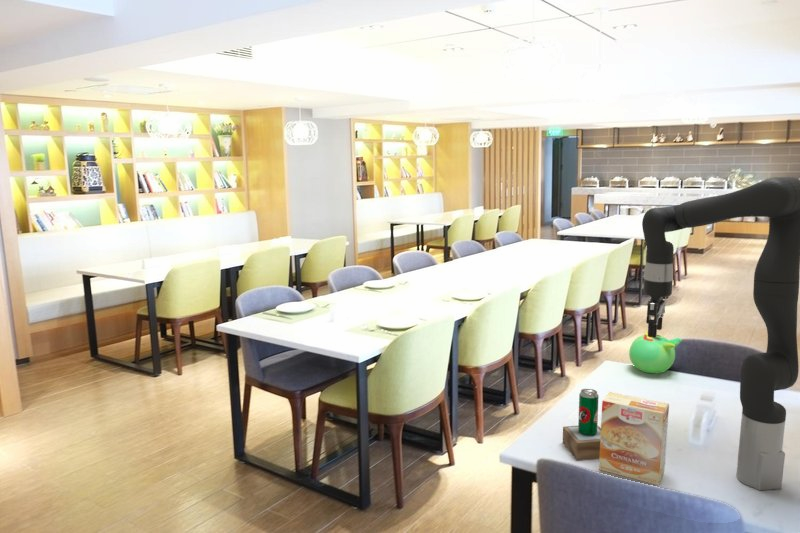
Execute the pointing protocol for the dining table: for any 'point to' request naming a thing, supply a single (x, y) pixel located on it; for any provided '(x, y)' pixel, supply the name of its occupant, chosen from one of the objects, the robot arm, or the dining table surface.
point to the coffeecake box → (633, 437)
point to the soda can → (588, 412)
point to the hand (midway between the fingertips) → (654, 333)
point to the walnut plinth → (582, 443)
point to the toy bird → (653, 353)
